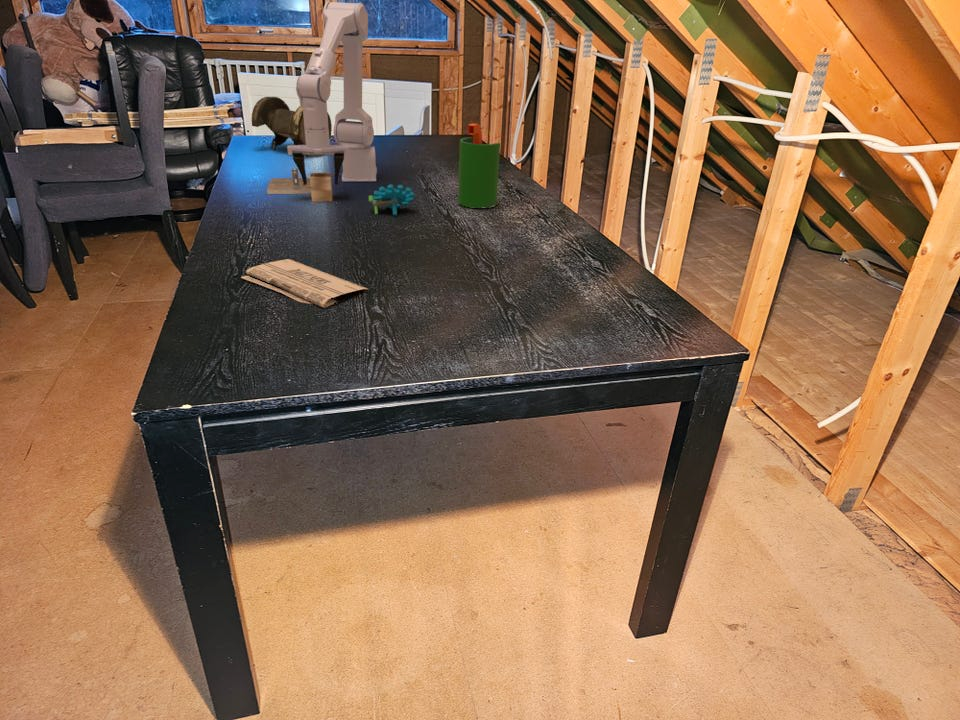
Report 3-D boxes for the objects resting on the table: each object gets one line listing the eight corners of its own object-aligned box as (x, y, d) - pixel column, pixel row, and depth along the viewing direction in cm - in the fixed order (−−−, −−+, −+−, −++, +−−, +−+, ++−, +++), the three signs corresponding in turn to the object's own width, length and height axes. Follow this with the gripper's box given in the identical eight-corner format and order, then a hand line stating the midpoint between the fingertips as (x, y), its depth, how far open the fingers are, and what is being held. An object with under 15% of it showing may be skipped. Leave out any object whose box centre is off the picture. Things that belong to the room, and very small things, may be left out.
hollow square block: (332, 195, 170) (330, 172, 167) (332, 201, 165) (330, 177, 163) (312, 196, 169) (310, 172, 166) (311, 201, 165) (309, 177, 162)
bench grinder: (292, 152, 196) (310, 85, 193) (242, 138, 206) (259, 74, 203) (336, 171, 214) (353, 110, 211) (288, 157, 224) (304, 99, 221)
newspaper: (238, 281, 121) (237, 268, 120) (292, 270, 130) (291, 258, 129) (318, 316, 109) (318, 302, 108) (372, 301, 118) (372, 288, 117)
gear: (417, 200, 163) (410, 179, 153) (418, 222, 162) (412, 202, 152) (373, 205, 163) (364, 184, 154) (374, 226, 162) (365, 207, 152)
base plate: (331, 181, 182) (329, 162, 179) (330, 193, 172) (329, 173, 169) (271, 182, 179) (269, 162, 177) (267, 194, 169) (264, 173, 166)
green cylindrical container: (501, 203, 170) (506, 122, 160) (487, 211, 163) (491, 128, 153) (466, 197, 173) (468, 118, 164) (451, 205, 166) (452, 123, 156)
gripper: (284, 130, 154) (290, 188, 160) (347, 131, 156) (350, 187, 163) (286, 125, 160) (292, 180, 167) (346, 125, 162) (349, 180, 169)
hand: (320, 183), depth 165 cm, fingers open, 7 cm apart
